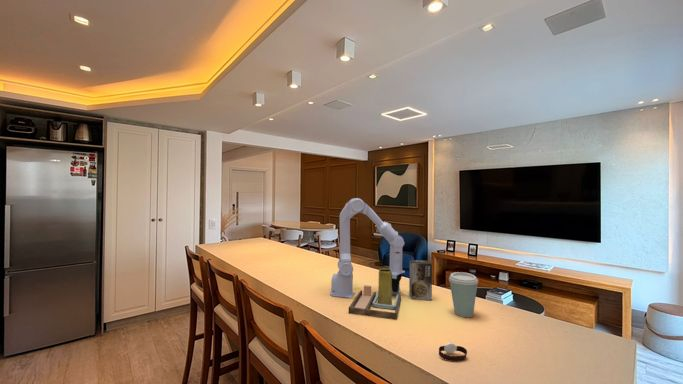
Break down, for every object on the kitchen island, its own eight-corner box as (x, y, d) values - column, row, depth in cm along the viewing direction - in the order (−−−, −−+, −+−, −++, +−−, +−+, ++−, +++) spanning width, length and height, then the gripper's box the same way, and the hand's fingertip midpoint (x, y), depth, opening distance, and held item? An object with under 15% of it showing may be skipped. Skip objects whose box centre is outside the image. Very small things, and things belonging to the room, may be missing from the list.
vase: (375, 306, 115) (375, 270, 116) (379, 301, 121) (380, 267, 121) (389, 309, 113) (390, 272, 113) (393, 304, 118) (394, 269, 119)
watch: (462, 353, 81) (462, 340, 81) (470, 362, 76) (470, 348, 76) (435, 353, 81) (436, 340, 81) (442, 362, 76) (442, 348, 76)
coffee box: (428, 295, 130) (429, 260, 130) (432, 300, 123) (432, 263, 124) (408, 294, 131) (409, 259, 131) (410, 299, 124) (411, 262, 125)
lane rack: (348, 313, 107) (348, 307, 107) (360, 295, 128) (360, 290, 128) (396, 319, 102) (396, 313, 102) (401, 299, 123) (401, 294, 124)
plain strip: (352, 311, 108) (352, 299, 108) (362, 295, 127) (362, 284, 127) (364, 313, 107) (364, 300, 107) (372, 296, 126) (373, 285, 126)
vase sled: (371, 306, 114) (372, 292, 114) (379, 291, 133) (379, 279, 133) (395, 309, 111) (395, 294, 112) (399, 293, 131) (399, 281, 131)
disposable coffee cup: (481, 321, 103) (482, 279, 103) (450, 318, 105) (451, 277, 106) (474, 310, 113) (474, 272, 114) (446, 307, 116) (446, 270, 116)
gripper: (403, 264, 123) (403, 296, 122) (405, 258, 137) (405, 287, 136) (387, 263, 125) (386, 294, 124) (390, 257, 139) (390, 285, 138)
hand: (395, 290), depth 130 cm, fingers open, 3 cm apart
